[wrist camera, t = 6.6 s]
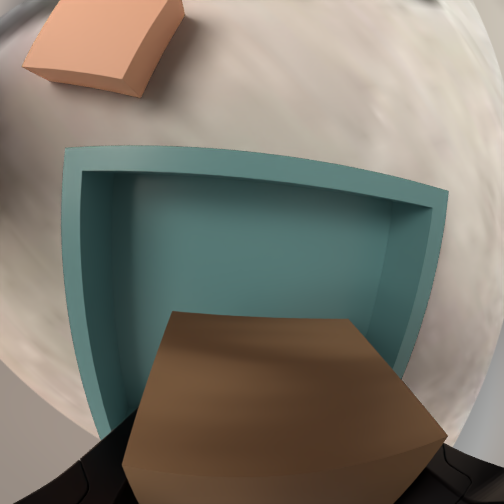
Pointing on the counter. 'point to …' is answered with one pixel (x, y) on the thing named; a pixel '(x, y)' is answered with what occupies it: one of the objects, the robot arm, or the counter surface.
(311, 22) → the counter surface
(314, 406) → the walnut block
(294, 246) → the tote
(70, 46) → the terracotta carton
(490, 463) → the robot arm
